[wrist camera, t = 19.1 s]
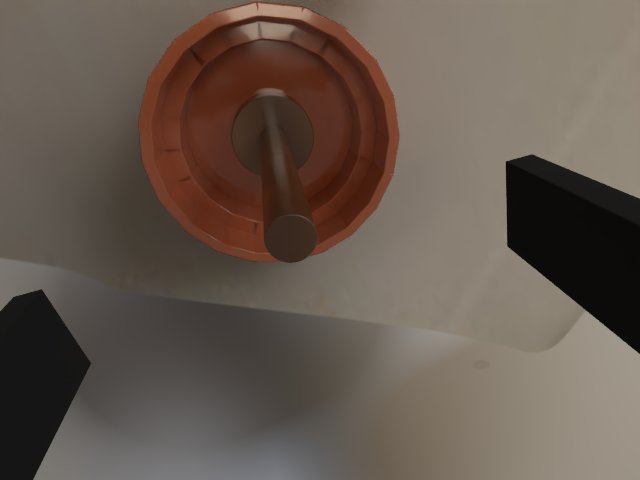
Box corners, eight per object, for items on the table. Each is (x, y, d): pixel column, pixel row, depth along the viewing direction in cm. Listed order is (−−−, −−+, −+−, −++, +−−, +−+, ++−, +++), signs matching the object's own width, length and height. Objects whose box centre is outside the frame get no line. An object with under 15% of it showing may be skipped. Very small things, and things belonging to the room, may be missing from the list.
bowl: (207, 245, 34) (197, 287, 28) (124, 44, 27) (89, 45, 21) (386, 196, 34) (412, 227, 28) (350, -15, 27) (376, -30, 21)
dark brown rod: (246, 177, 31) (236, 326, 15) (222, 102, 29) (177, 183, 12) (317, 158, 31) (385, 285, 15) (299, 82, 29) (356, 135, 12)
